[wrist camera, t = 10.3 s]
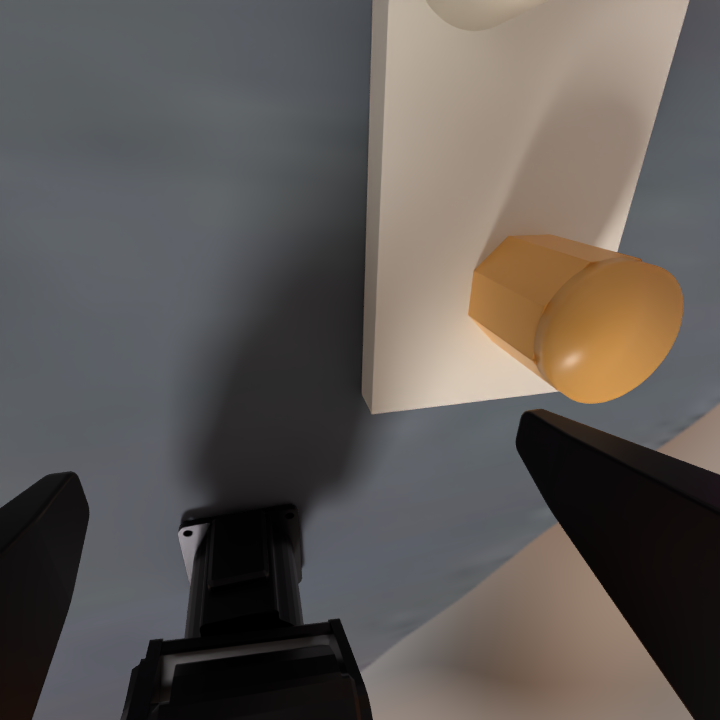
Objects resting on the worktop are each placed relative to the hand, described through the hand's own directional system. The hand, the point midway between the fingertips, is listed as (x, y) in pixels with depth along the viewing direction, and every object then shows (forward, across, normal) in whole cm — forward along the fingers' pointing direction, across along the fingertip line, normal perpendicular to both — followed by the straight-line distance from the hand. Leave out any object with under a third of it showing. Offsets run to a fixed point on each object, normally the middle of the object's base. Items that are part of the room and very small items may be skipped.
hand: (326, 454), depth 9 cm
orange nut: (+10, -11, 0) cm, 15 cm away
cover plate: (+12, -10, -4) cm, 16 cm away
